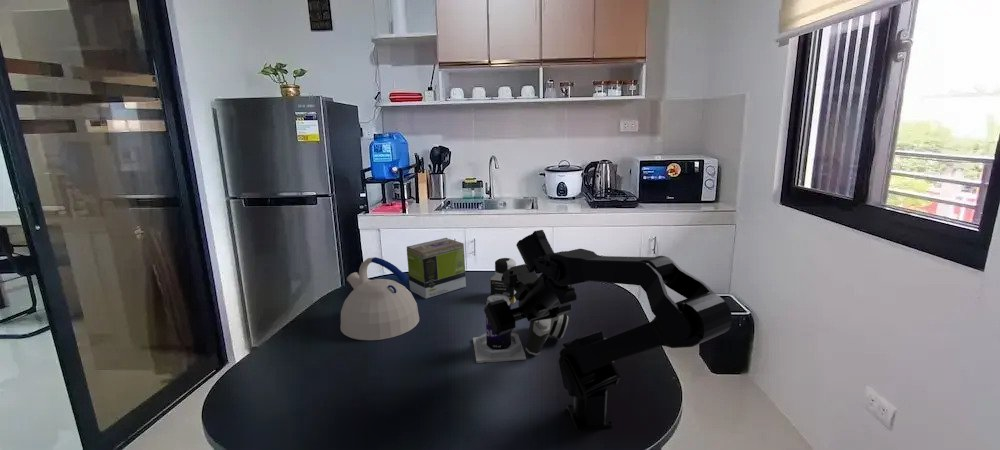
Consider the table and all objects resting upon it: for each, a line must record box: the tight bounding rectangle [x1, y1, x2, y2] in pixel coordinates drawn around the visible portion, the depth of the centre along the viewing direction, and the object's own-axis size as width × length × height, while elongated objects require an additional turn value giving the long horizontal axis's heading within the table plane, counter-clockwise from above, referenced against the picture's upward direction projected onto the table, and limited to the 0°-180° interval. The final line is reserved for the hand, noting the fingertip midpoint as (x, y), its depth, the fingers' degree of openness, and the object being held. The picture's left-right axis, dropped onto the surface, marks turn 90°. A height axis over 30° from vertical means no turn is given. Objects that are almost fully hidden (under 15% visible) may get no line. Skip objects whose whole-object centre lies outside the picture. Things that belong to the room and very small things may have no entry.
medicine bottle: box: [490, 257, 517, 305], centre depth 135 cm, size 7×7×12 cm
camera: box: [525, 313, 569, 356], centre depth 108 cm, size 16×9×10 cm, turn 170°
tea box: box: [406, 237, 467, 300], centre depth 143 cm, size 15×10×15 cm
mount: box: [472, 332, 527, 364], centre depth 106 cm, size 11×11×2 cm
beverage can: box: [485, 294, 512, 350], centre depth 105 cm, size 6×6×12 cm
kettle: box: [340, 256, 420, 341], centre depth 119 cm, size 20×21×18 cm
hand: (513, 324), depth 99 cm, fingers open, 9 cm apart
